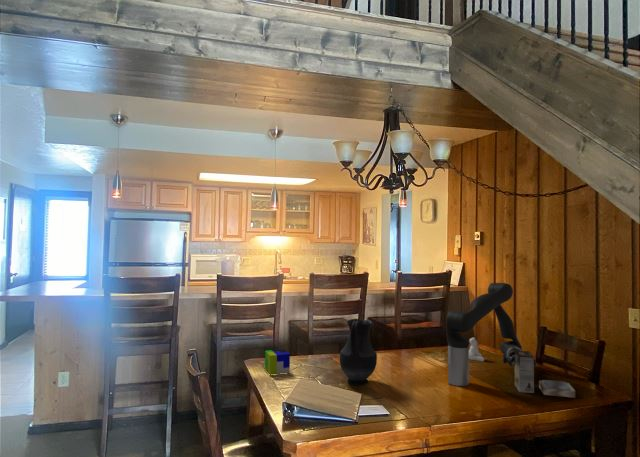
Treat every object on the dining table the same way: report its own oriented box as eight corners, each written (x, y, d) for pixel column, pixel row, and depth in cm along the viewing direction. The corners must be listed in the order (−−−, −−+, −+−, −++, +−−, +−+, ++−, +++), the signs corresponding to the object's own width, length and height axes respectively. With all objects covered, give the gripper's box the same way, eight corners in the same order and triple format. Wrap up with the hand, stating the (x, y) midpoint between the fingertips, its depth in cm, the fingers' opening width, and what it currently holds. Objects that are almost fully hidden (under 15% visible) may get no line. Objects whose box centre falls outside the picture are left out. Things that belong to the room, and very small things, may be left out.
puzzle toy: (289, 374, 213) (289, 353, 214) (270, 376, 210) (270, 355, 210) (283, 368, 223) (283, 349, 223) (264, 370, 219) (265, 350, 219)
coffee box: (514, 385, 198) (513, 350, 198) (529, 386, 196) (528, 350, 197) (519, 392, 189) (518, 355, 189) (534, 393, 187) (534, 356, 188)
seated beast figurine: (484, 362, 235) (484, 339, 236) (468, 361, 237) (468, 339, 237) (481, 357, 245) (481, 336, 245) (465, 356, 246) (465, 335, 246)
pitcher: (379, 378, 207) (379, 315, 208) (372, 393, 187) (372, 323, 188) (343, 375, 212) (344, 313, 213) (333, 389, 192) (334, 321, 193)
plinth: (544, 395, 185) (544, 387, 185) (538, 386, 196) (538, 379, 196) (575, 398, 182) (575, 390, 182) (568, 389, 192) (568, 382, 192)
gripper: (500, 346, 217) (504, 355, 202) (531, 349, 213) (538, 357, 198) (500, 361, 217) (504, 371, 201) (531, 364, 213) (538, 374, 197)
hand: (521, 364), depth 199 cm, fingers open, 8 cm apart
